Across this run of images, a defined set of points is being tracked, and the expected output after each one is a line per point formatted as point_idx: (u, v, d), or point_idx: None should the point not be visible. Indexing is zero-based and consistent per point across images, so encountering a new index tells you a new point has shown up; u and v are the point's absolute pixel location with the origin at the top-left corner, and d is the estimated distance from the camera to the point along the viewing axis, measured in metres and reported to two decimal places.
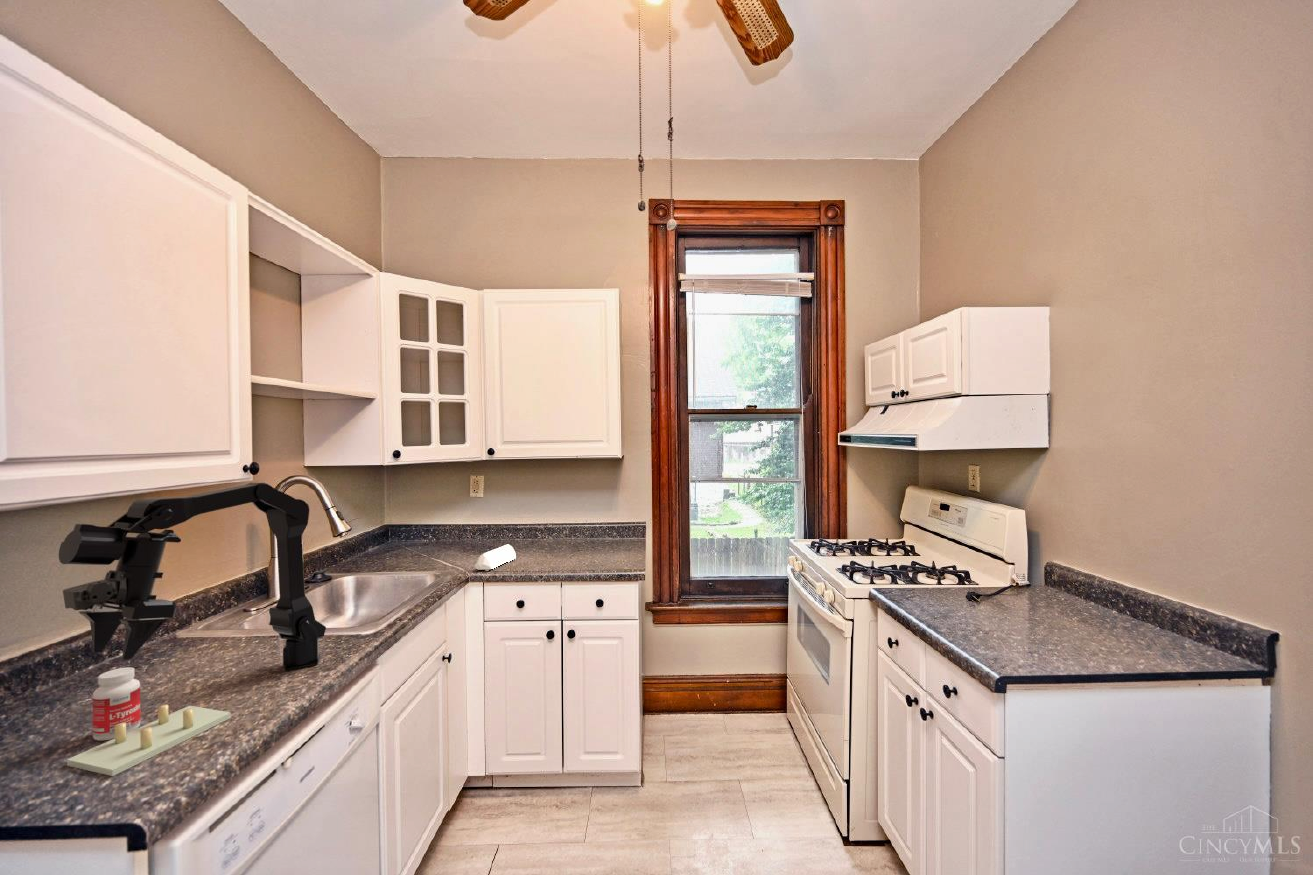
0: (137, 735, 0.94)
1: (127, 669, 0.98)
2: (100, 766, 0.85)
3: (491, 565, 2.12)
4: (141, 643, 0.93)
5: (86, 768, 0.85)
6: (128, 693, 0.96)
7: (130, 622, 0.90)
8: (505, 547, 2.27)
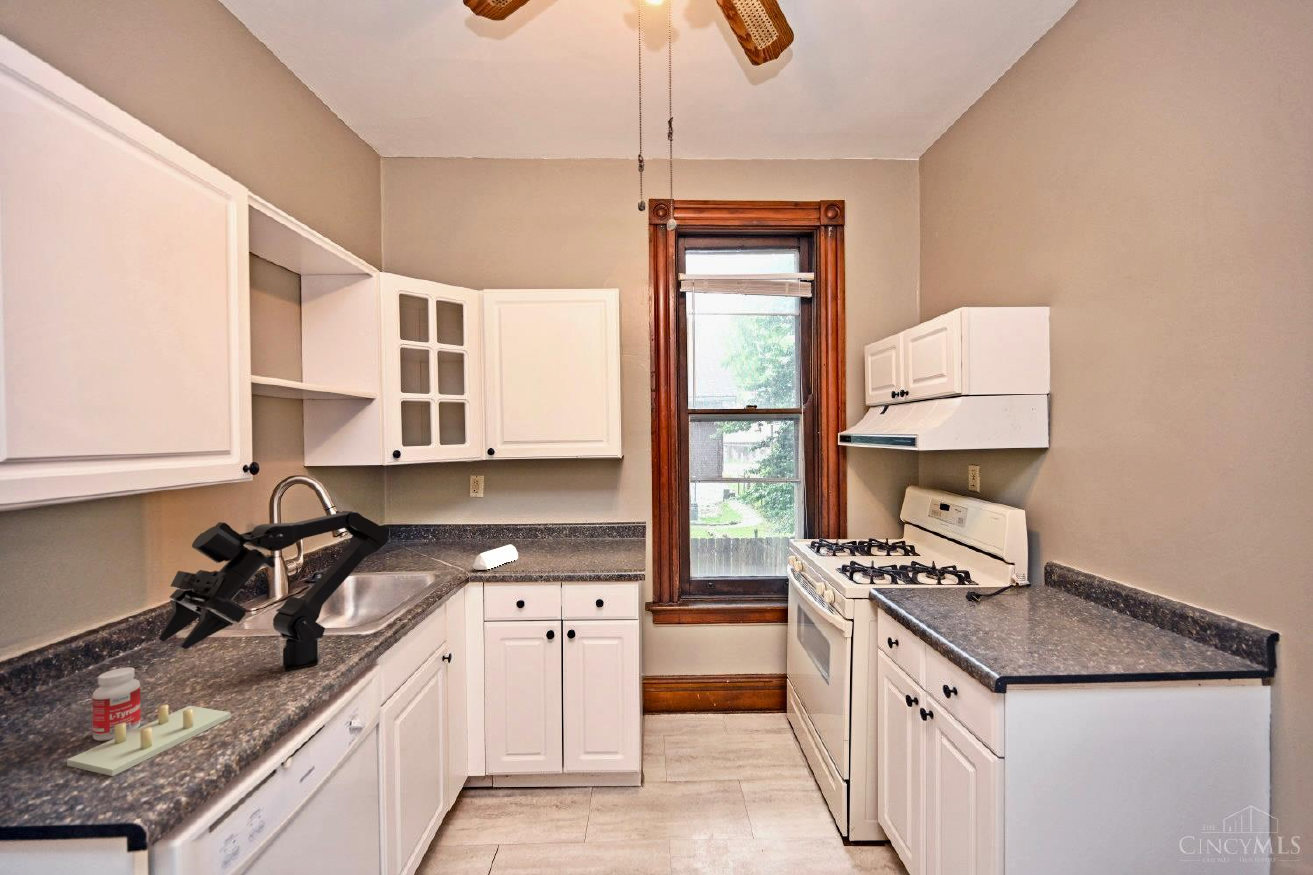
0: (137, 735, 0.94)
1: (127, 669, 0.98)
2: (100, 766, 0.85)
3: (487, 565, 2.11)
4: (201, 638, 1.03)
5: (86, 768, 0.85)
6: (128, 693, 0.96)
7: (208, 611, 1.03)
8: (507, 547, 2.27)
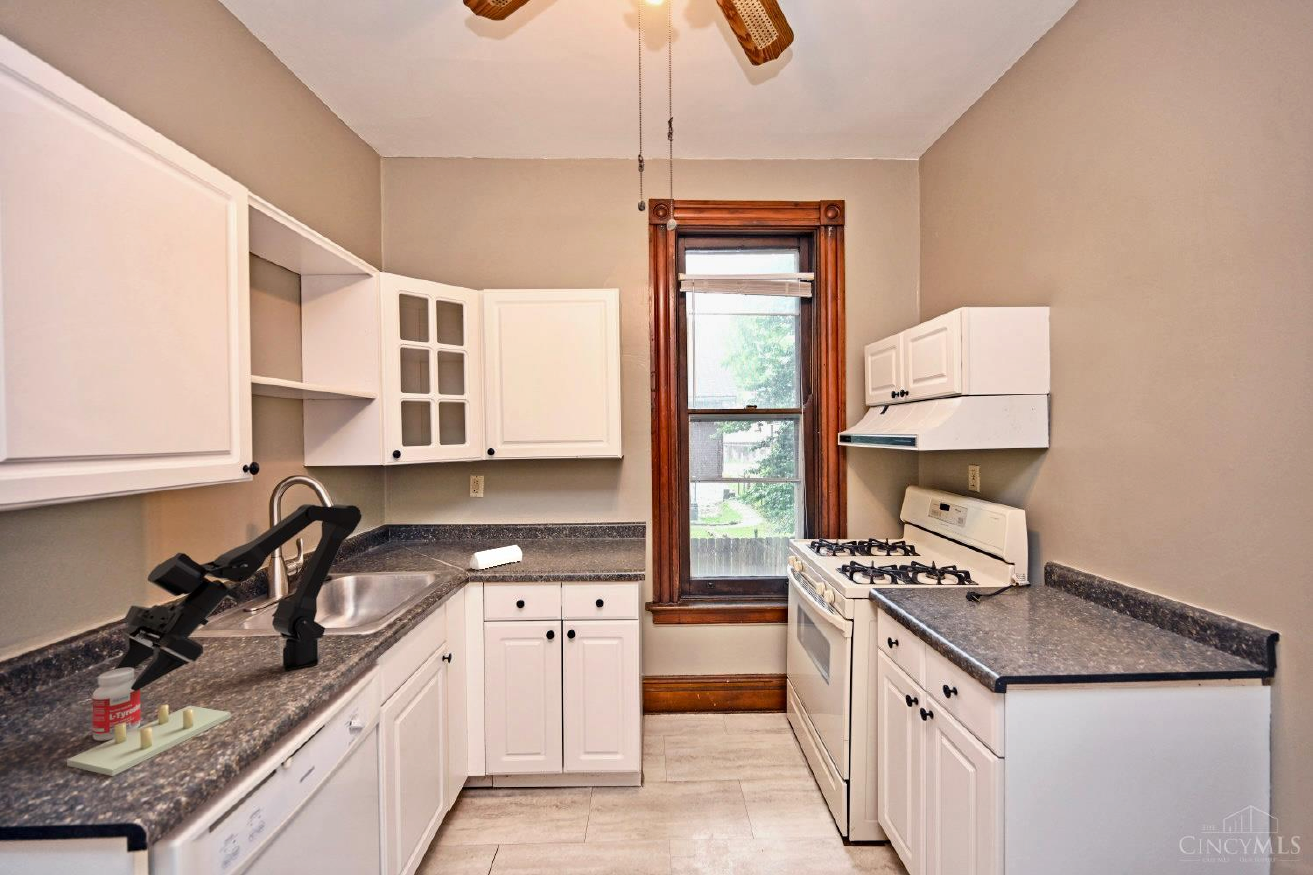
0: (137, 735, 0.94)
1: (127, 669, 0.98)
2: (100, 766, 0.85)
3: (480, 564, 2.12)
4: (153, 678, 0.97)
5: (86, 768, 0.85)
6: (128, 693, 0.96)
7: (161, 650, 0.96)
8: (510, 548, 2.25)
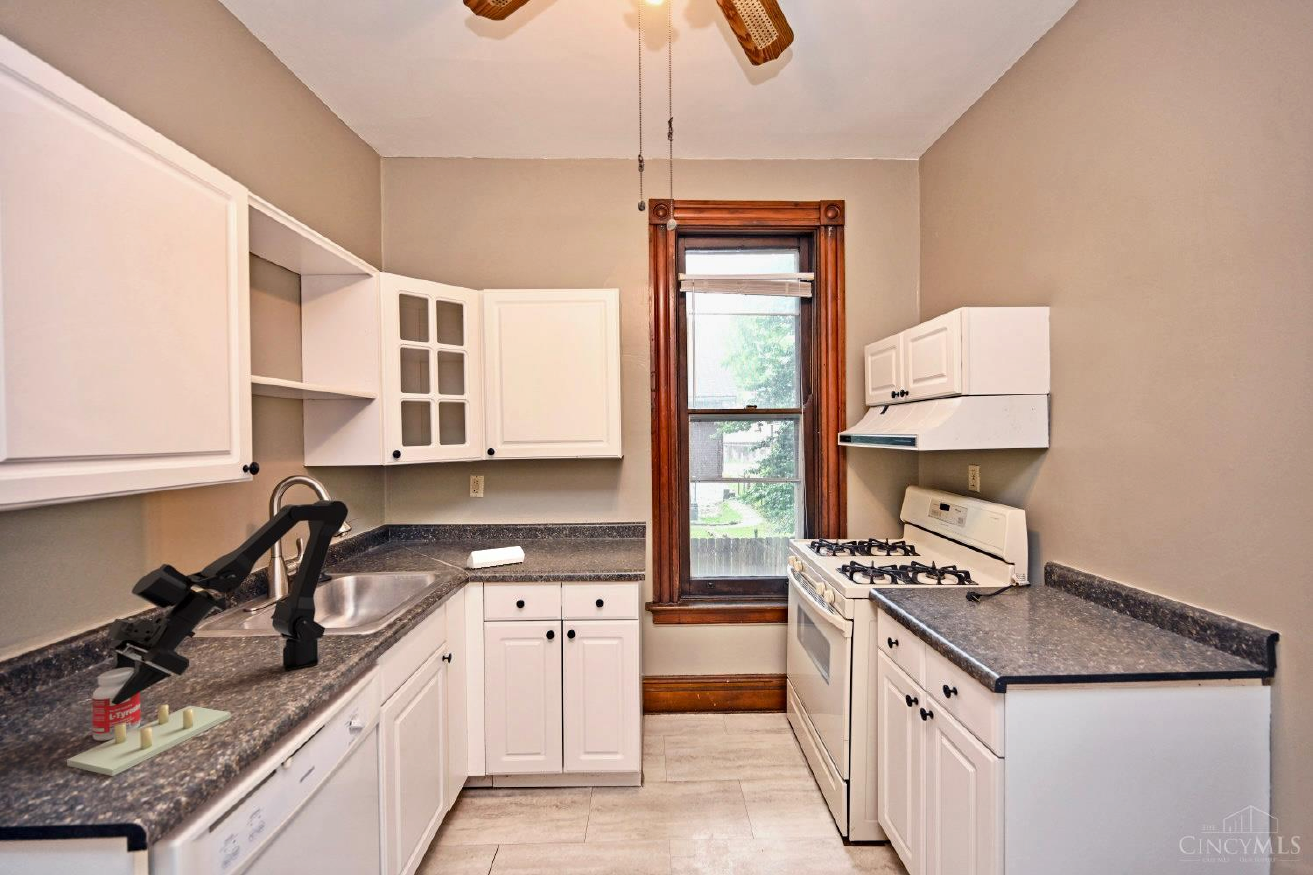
0: (137, 735, 0.94)
1: (127, 669, 0.98)
2: (100, 766, 0.85)
3: (475, 564, 2.14)
4: (135, 692, 0.96)
5: (86, 768, 0.85)
6: None
7: (142, 664, 0.95)
8: (511, 549, 2.23)
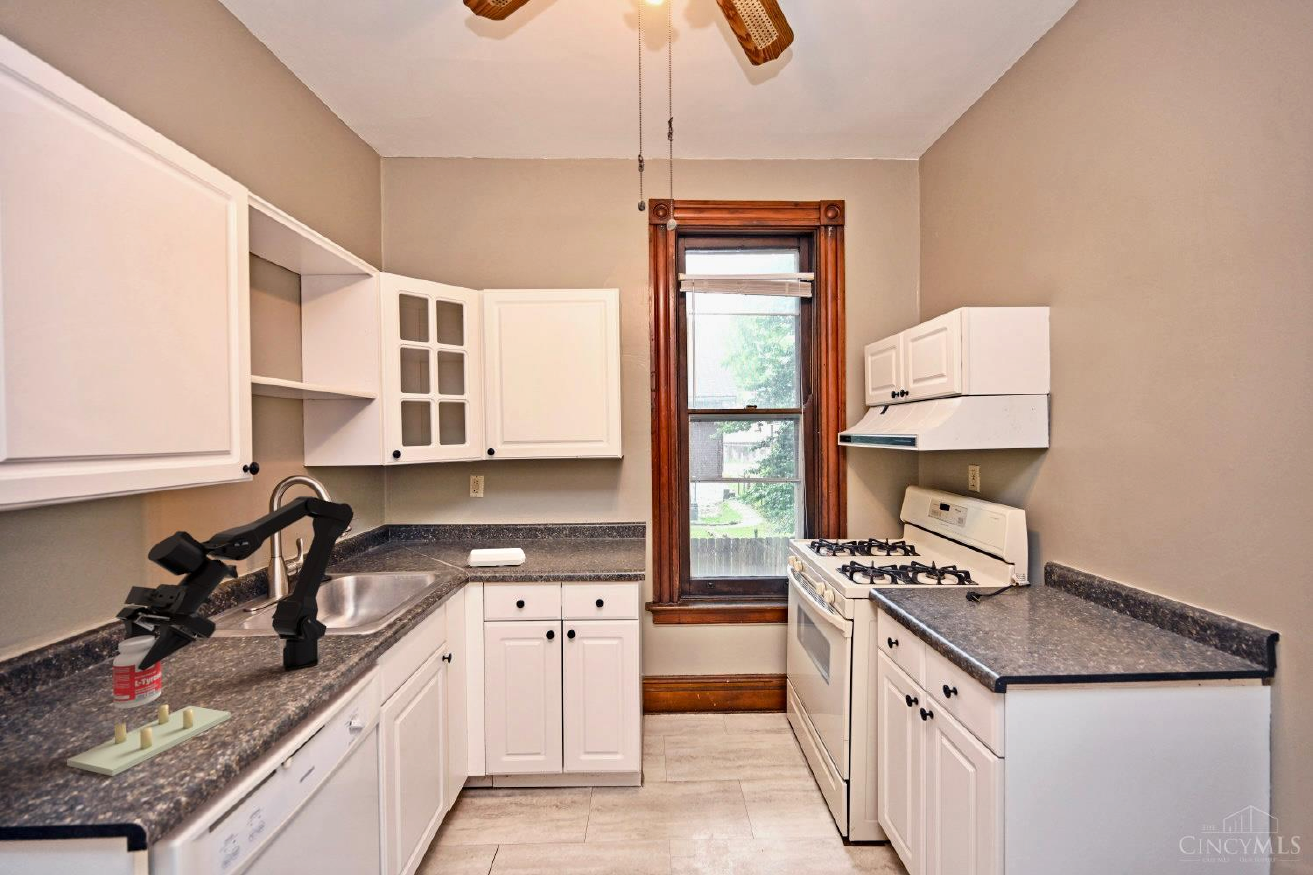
0: (137, 735, 0.94)
1: (147, 637, 0.96)
2: (100, 766, 0.85)
3: (472, 562, 2.17)
4: (161, 657, 0.95)
5: (86, 768, 0.85)
6: None
7: (171, 628, 0.94)
8: (510, 550, 2.21)
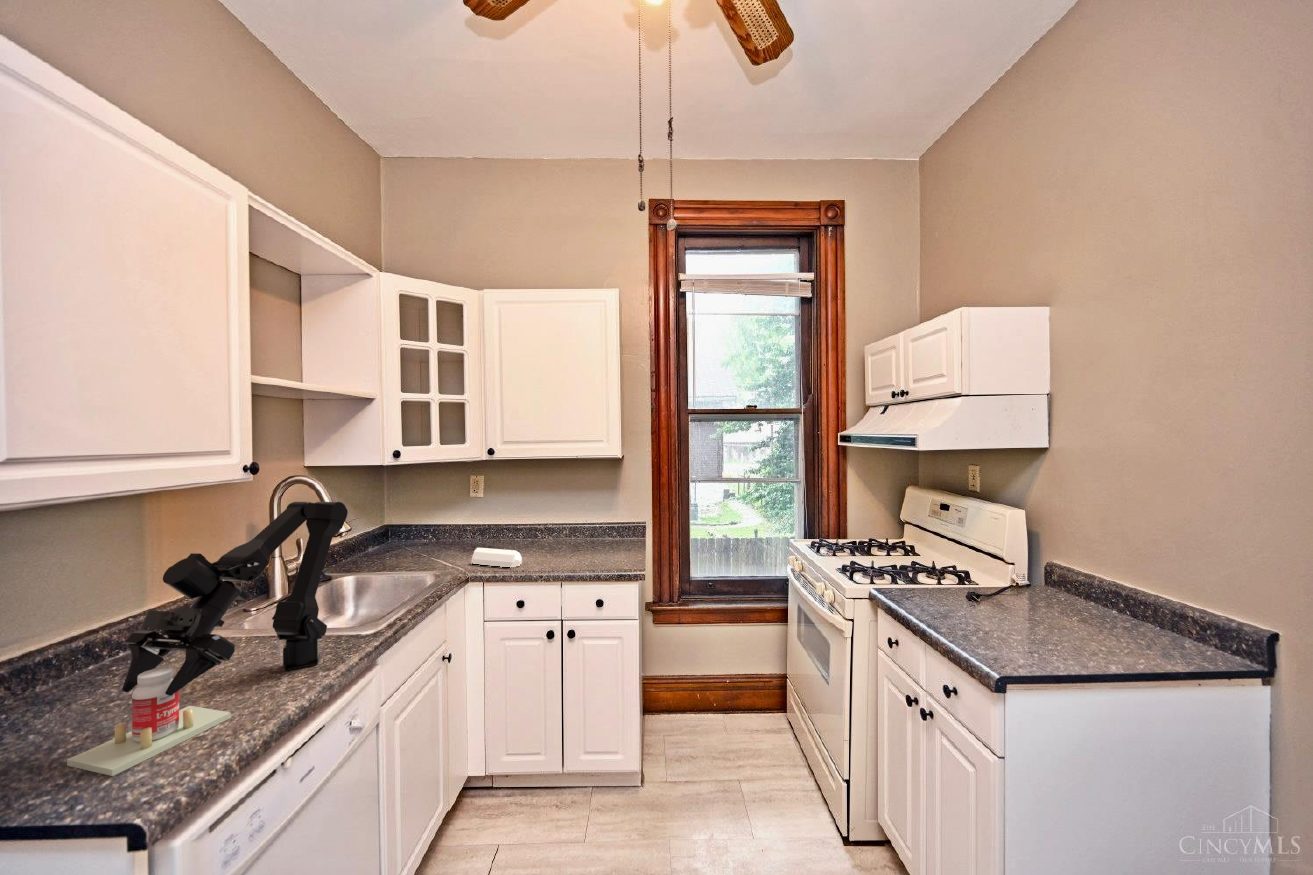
0: None
1: (166, 668, 0.95)
2: (100, 766, 0.85)
3: (473, 559, 2.21)
4: (187, 681, 0.94)
5: (86, 768, 0.85)
6: None
7: (199, 651, 0.94)
8: (507, 552, 2.18)
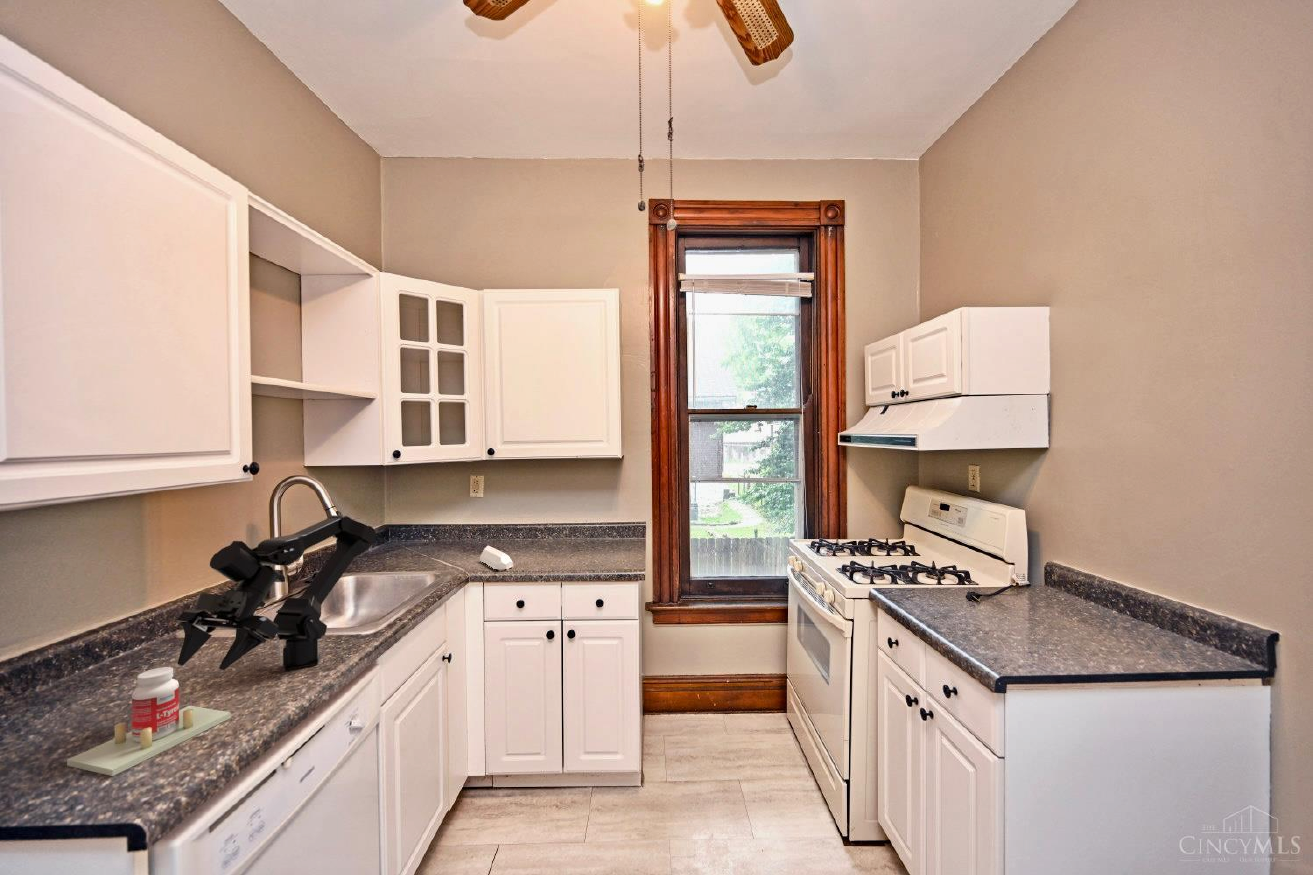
0: None
1: (165, 668, 0.95)
2: (100, 766, 0.85)
3: (480, 557, 2.26)
4: (237, 657, 1.04)
5: (86, 768, 0.85)
6: (173, 691, 0.94)
7: (248, 631, 1.04)
8: (498, 553, 2.15)
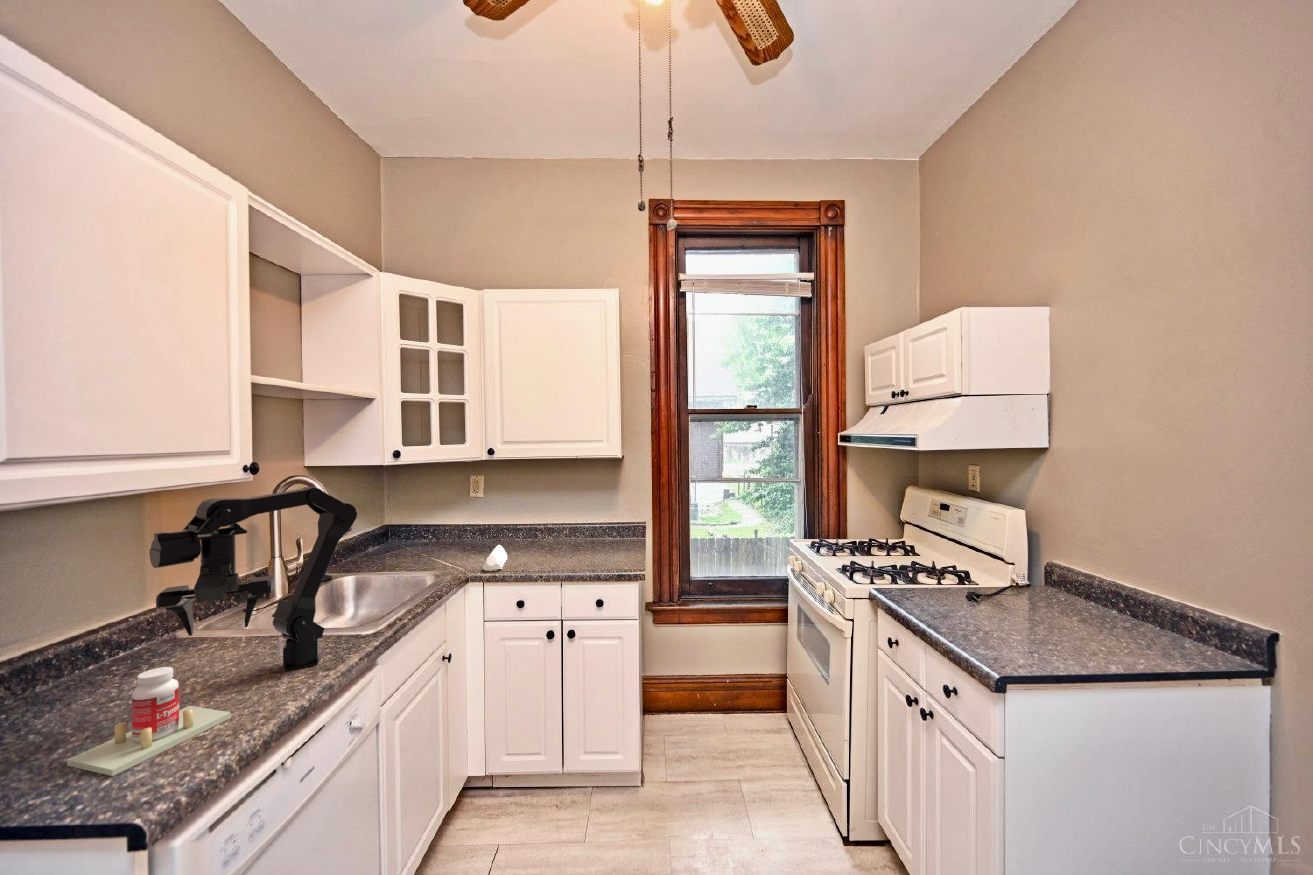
0: None
1: (165, 668, 0.95)
2: (100, 766, 0.85)
3: None
4: (252, 612, 1.15)
5: (86, 768, 0.85)
6: (173, 691, 0.94)
7: (262, 597, 1.13)
8: (490, 554, 2.14)
